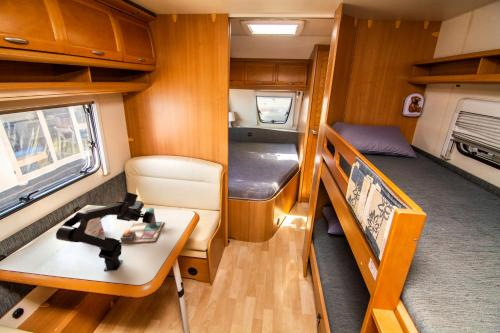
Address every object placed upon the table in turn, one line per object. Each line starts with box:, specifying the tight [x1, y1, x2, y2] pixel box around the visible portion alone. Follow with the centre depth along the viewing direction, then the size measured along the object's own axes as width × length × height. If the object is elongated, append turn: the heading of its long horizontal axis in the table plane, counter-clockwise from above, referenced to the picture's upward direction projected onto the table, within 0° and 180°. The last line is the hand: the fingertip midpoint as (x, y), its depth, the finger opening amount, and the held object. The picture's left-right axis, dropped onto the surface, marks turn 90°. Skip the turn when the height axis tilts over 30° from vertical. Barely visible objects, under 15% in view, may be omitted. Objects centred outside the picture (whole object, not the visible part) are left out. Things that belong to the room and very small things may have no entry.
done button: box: [123, 229, 131, 237], centre depth 134 cm, size 3×3×3 cm
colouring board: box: [119, 221, 165, 245], centre depth 141 cm, size 20×20×4 cm
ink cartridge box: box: [85, 217, 104, 237], centre depth 138 cm, size 9×5×15 cm, turn 168°
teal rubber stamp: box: [145, 207, 157, 228], centre depth 144 cm, size 5×5×12 cm
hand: (145, 219), depth 138 cm, fingers open, 9 cm apart
